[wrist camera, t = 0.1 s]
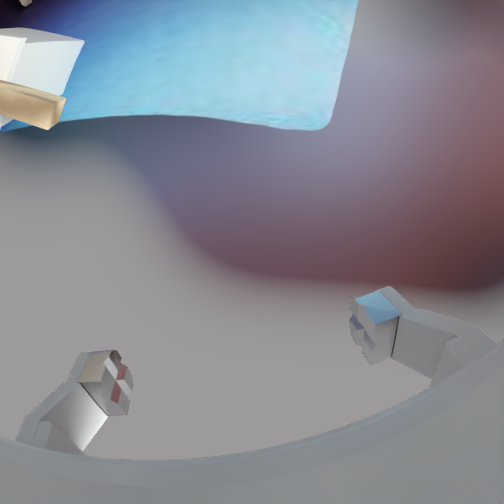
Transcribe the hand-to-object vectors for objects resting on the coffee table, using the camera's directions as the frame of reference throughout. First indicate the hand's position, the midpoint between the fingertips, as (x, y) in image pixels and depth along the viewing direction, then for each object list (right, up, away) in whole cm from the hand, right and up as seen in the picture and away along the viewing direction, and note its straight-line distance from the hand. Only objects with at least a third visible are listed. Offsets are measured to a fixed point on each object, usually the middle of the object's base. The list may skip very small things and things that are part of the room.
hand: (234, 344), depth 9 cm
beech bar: (-31, +23, +7) cm, 39 cm away
